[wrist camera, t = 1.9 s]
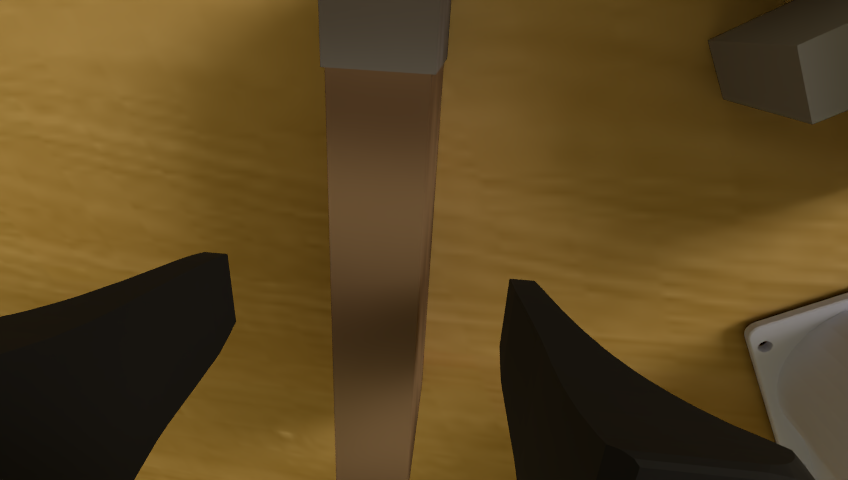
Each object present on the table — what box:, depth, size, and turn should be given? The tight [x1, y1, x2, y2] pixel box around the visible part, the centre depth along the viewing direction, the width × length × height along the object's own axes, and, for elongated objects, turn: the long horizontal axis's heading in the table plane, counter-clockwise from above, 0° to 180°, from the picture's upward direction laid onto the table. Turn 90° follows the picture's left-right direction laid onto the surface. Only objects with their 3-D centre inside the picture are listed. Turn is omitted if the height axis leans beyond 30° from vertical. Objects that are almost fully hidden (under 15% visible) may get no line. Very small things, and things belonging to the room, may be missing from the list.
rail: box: [318, 0, 451, 480], centre depth 16 cm, size 17×3×6 cm, turn 177°
